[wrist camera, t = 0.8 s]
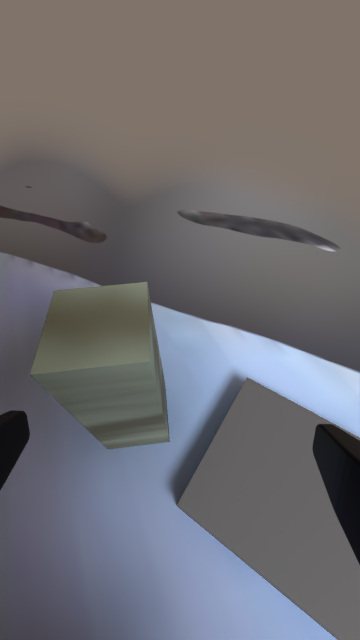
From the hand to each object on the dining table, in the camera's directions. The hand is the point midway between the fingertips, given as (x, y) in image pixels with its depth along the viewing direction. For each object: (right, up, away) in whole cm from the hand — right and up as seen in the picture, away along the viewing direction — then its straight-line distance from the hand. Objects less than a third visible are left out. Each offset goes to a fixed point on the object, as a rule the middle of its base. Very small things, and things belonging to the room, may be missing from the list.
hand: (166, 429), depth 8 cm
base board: (+8, -9, +11) cm, 16 cm away
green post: (-3, -5, +14) cm, 16 cm away
